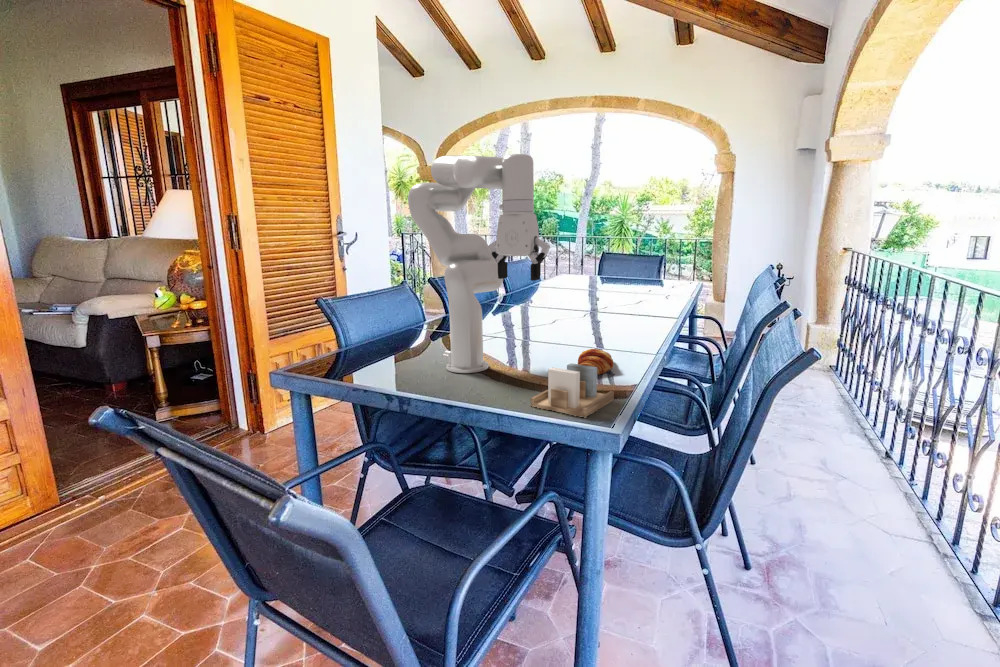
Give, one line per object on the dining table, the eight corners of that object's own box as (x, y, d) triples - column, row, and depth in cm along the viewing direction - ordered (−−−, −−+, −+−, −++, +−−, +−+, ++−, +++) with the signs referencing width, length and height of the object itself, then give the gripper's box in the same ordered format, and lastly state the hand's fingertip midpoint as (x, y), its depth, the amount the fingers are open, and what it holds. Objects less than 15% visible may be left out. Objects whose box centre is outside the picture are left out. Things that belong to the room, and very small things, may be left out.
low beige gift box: (548, 402, 121) (548, 369, 120) (552, 400, 123) (552, 367, 121) (575, 408, 117) (575, 373, 116) (579, 405, 119) (579, 371, 117)
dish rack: (530, 406, 122) (530, 373, 120) (562, 389, 134) (562, 359, 132) (585, 418, 114) (585, 383, 112) (613, 399, 125) (614, 367, 124)
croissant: (598, 371, 162) (588, 348, 163) (627, 360, 157) (616, 335, 158) (572, 388, 144) (560, 362, 145) (603, 376, 139) (591, 349, 140)
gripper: (480, 209, 128) (481, 279, 132) (540, 207, 119) (540, 282, 122) (498, 209, 134) (499, 276, 138) (557, 207, 124) (556, 279, 128)
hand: (518, 279), depth 130 cm, fingers open, 9 cm apart
